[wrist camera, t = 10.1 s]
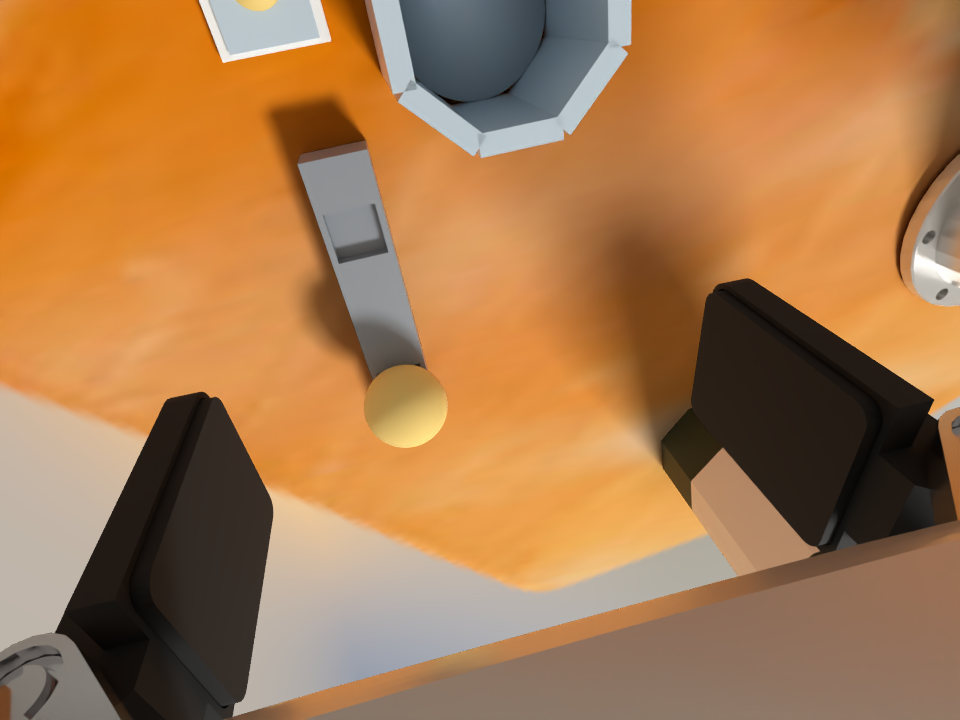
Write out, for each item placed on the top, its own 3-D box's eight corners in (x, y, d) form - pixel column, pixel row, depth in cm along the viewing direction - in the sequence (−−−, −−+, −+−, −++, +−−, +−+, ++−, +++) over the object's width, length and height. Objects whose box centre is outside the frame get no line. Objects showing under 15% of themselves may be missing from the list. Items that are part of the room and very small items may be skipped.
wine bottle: (738, 375, 37) (1484, 1064, 13) (772, 436, 42) (1373, 1031, 17) (640, 441, 39) (1136, 1165, 14) (683, 493, 44) (1117, 1110, 19)
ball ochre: (432, 340, 29) (444, 387, 25) (448, 401, 31) (460, 452, 28) (352, 360, 28) (353, 410, 25) (375, 420, 31) (378, 474, 27)
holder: (365, 140, 24) (367, 149, 22) (436, 404, 33) (441, 424, 32) (300, 154, 24) (297, 164, 22) (390, 416, 33) (392, 437, 31)
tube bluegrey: (552, -133, 20) (632, -191, 14) (565, 99, 25) (630, 124, 19) (341, -96, 20) (339, -142, 14) (396, 136, 24) (411, 173, 18)
